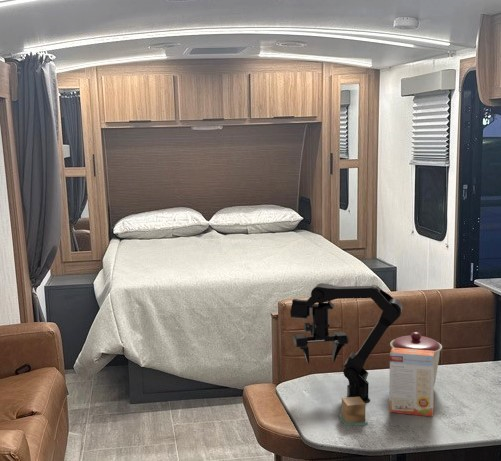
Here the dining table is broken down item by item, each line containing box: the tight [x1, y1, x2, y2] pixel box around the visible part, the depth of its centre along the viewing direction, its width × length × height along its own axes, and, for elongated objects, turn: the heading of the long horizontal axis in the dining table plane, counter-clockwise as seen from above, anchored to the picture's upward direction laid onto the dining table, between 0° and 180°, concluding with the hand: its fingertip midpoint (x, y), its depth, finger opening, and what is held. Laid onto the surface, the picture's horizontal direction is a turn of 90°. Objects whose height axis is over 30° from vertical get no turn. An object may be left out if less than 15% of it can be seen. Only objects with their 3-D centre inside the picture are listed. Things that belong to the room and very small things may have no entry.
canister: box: [389, 331, 443, 386], centre depth 226 cm, size 18×18×21 cm
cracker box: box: [388, 347, 435, 417], centre depth 207 cm, size 14×6×21 cm, turn 71°
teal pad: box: [338, 414, 369, 427], centre depth 203 cm, size 7×7×1 cm
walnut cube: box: [341, 396, 367, 423], centre depth 202 cm, size 6×6×6 cm
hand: (320, 362), depth 222 cm, fingers open, 9 cm apart
